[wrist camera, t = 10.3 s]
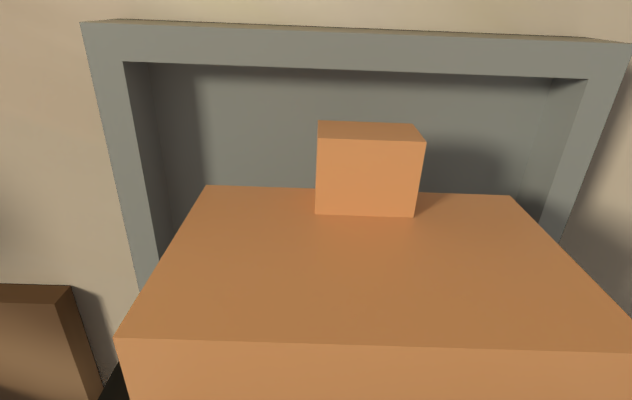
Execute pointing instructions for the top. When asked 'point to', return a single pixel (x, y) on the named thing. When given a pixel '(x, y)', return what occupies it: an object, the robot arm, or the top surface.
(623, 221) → the top surface
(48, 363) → the brown board with hook
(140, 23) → the tray
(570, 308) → the ring
